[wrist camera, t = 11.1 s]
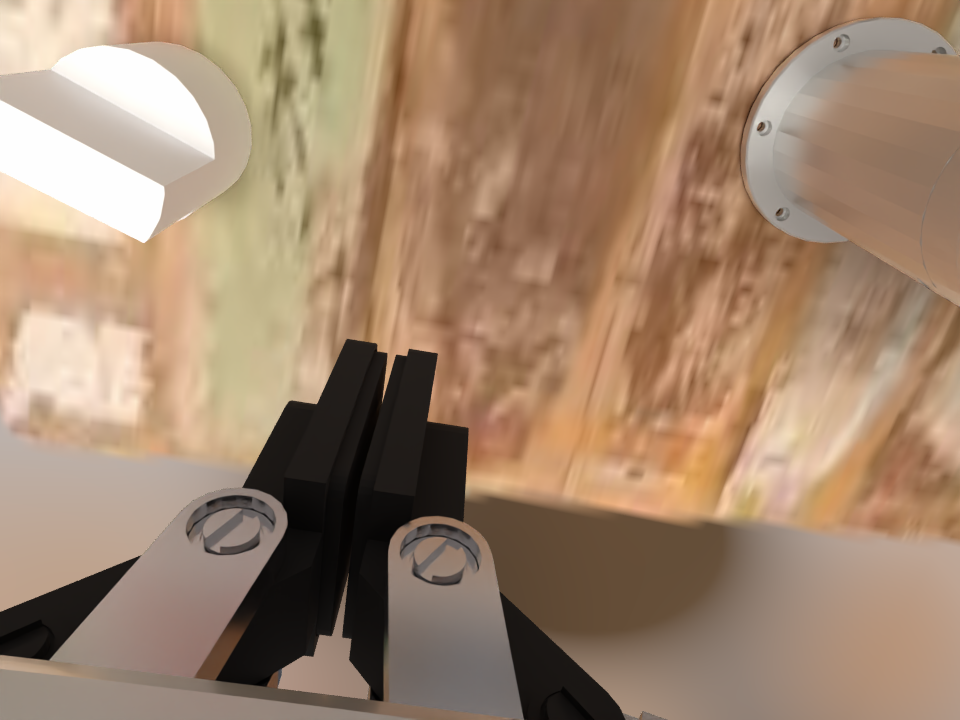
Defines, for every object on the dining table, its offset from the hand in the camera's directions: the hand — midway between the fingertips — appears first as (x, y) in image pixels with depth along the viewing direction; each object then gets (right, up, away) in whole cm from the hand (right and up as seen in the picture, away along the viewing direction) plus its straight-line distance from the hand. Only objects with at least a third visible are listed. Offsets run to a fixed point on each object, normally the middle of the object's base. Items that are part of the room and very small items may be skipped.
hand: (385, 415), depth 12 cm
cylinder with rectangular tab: (-16, +15, +26) cm, 35 cm away
